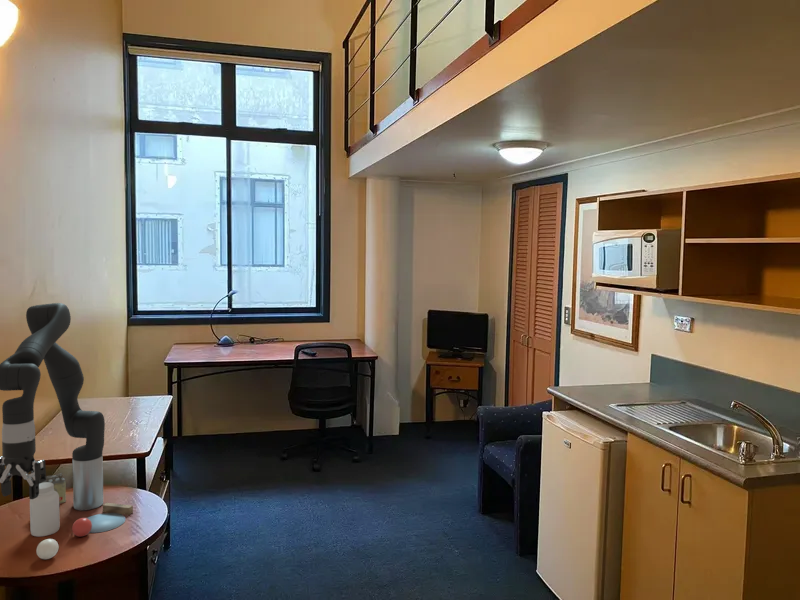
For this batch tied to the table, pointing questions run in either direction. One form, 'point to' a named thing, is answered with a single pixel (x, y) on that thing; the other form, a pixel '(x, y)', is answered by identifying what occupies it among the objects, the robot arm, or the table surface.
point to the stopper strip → (117, 508)
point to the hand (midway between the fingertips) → (20, 496)
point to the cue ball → (47, 549)
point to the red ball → (81, 527)
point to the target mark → (106, 522)
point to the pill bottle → (45, 511)
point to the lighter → (58, 486)
